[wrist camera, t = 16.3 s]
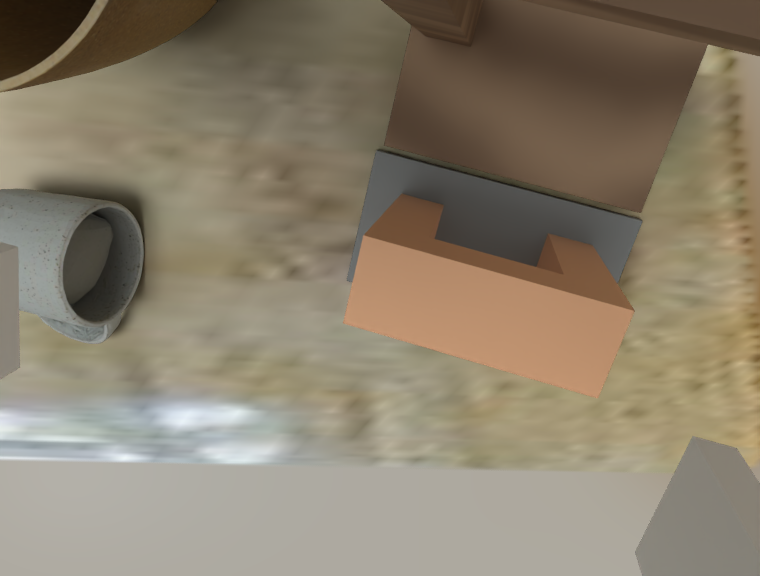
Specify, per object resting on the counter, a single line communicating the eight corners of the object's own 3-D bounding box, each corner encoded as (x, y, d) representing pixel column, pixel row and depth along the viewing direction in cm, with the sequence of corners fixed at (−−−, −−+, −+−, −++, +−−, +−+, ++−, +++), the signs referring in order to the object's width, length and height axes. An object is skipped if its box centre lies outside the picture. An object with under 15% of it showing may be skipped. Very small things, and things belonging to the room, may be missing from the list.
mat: (378, 149, 34) (376, 150, 33) (639, 218, 32) (642, 221, 32) (348, 277, 36) (346, 280, 36) (588, 346, 35) (590, 350, 34)
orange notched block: (385, 258, 35) (343, 323, 25) (401, 193, 34) (363, 235, 24) (568, 310, 34) (597, 398, 24) (592, 245, 33) (634, 311, 23)
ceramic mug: (27, 176, 38) (-81, 197, 31) (142, 190, 37) (58, 217, 30) (45, 324, 42) (-47, 374, 35) (151, 342, 41) (78, 398, 34)
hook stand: (455, -144, 29) (359, -726, 8) (768, -78, 27) (1578, -580, 7) (388, 143, 33) (224, 221, 13) (650, 212, 32) (922, 420, 12)
